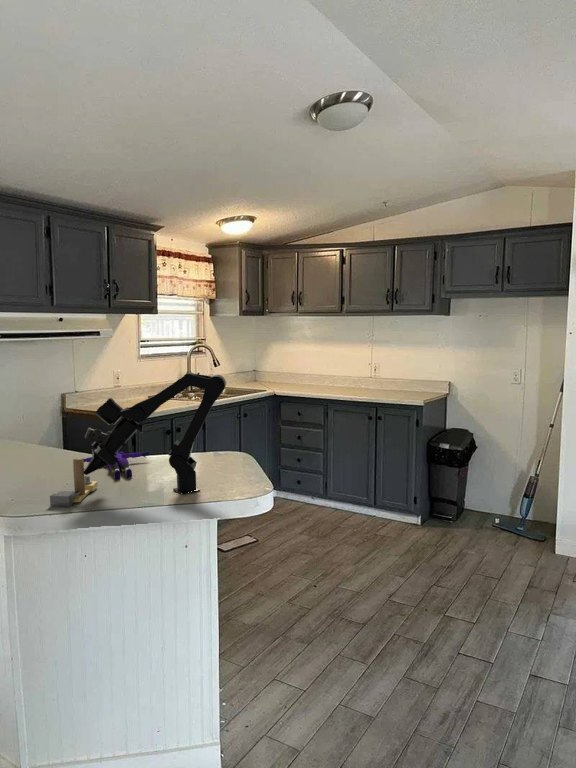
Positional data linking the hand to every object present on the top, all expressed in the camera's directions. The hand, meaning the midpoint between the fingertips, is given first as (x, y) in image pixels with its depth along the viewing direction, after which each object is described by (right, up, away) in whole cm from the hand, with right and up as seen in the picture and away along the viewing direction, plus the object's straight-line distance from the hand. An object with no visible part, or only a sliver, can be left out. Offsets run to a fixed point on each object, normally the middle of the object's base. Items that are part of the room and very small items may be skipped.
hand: (84, 474), depth 171 cm
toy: (-1, -5, +36) cm, 36 cm away
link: (-2, -7, +3) cm, 8 cm away
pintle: (-2, -7, +9) cm, 11 cm away
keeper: (-4, -8, -4) cm, 10 cm away
